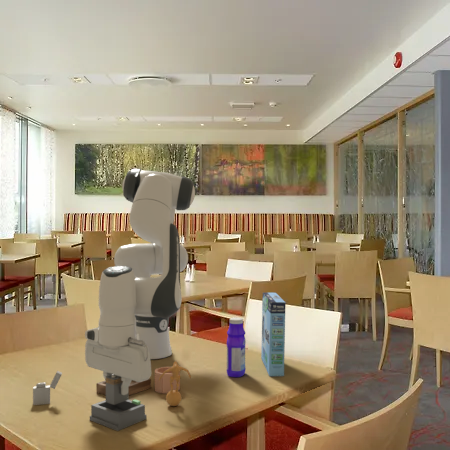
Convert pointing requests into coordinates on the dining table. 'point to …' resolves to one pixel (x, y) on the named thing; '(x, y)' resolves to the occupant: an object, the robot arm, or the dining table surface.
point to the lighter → (44, 390)
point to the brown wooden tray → (133, 386)
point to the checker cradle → (118, 414)
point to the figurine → (173, 395)
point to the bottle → (236, 348)
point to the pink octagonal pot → (164, 381)
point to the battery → (114, 390)
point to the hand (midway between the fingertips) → (117, 391)
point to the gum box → (273, 334)
